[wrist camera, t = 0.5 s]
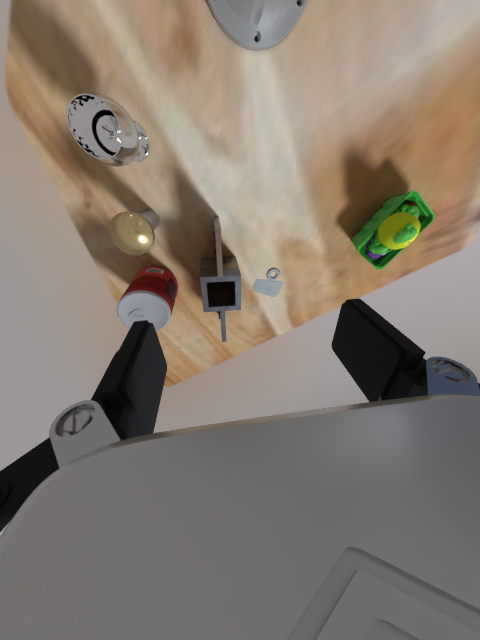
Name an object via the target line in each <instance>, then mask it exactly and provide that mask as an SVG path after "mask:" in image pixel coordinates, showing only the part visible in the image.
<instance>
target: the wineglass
mask: <svg viewBox="0 0 480 640" xmlns="http://www.w3.org/2000/svg"><path fill="white" fill-rule="evenodd" d="M67 121H68V126H69V128H70V131H71V133H72V135H73V137H74V139H75V140H76V142H77V143H78V144H79V146H80V147H81V148H82V149H83V150H84V151H86V152H87V153H88V154H89V155H91V156H92V157H93V158H95V159H97V160H98V161H100V162H102V163H104V164H107V165H110V166H116V167H120V166H125V165H128V164H129V163H131V162H132V161H142V160H144V159H145V158H146V157H147V155H148V153H149V147H150V145H149V139H148V136H147V134H146V132H145V131H144V129H143V128H142V127H141V126H140V125H139V124H138V123H136V122H134V121H133V120H132V118H131V116H130V115H129V114H128V112H127V111H126V110H125V109H124V108H123V107H122V106H121V105H120V104H119V103H117V102H116V101H114V100H113V99H111V98H109V97H107V96H105V95H102V94H97V93H83V94H79V95H77V96H75V97H74V98H73V99H72V100H71V101H70V103H69V105H68V109H67Z"/></svg>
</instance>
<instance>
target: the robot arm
mask: <svg viewBox="0 0 480 640" xmlns="http://www.w3.org/2000/svg"><path fill="white" fill-rule="evenodd" d="M207 2H208V4H209V6H210V9H211V11H212V13H213V16H214V17H215V19H216V21H217V22H218V24H219V26H220V27H221V29H222V30H223V31H224V32H225V34H226V35H227V36H228V37H229V38H230V39H231V40H232V41H234V42H235V43H236V44H238V45H239V46H241V47H244V48H246V49H248V50H256V51H260V50H265V49H269V48H271V47H273V46H275V45H277V44H278V43H280V42H281V41H282V40H283V39H284V38H286V37H287V35H288V34H289V33H290V32H291V30H292V29H293V28H294V27H295V25H296V23H297V22H298V20H299V19H300V17H301V15H302V13H303V11H304V9H305V7H306V5H307V2H308V0H216V1H214V0H207ZM297 2H299V3H300V7H299V6H298V5H297ZM255 37H256V38H257V39H258V42H255V41H254V38H255ZM332 349H333V351H334V352H335V354H336V355H337V357H338V358H339V359H340V361H341V362H342V364H343V365H344V366H345V368H346V369H347V371H348V372H349V374H350V375H351V376H352V378H353V379H354V381H355V382H356V383H357V385H358V386H359V388H360V389H361V390H362V392H363V393H364V395H365V396H366V398H367V399H368V400H369V402H368V403H360V404H353V405H345V406H338V407H330V408H323V409H316V410H309V411H302V412H294V413H287V414H280V415H273V416H266V417H259V418H252V419H245V420H238V421H231V422H224V423H217V424H210V425H203V426H196V427H190V428H183V429H177V430H171V431H166V432H159V433H153V431H154V427H155V422H156V417H157V413H158V408H159V404H160V399H161V395H162V390H163V386H164V381H165V376H166V372H167V363H166V360H165V357H164V354H163V351H162V348H161V345H160V342H159V339H158V336H157V333H156V330H155V327H154V325H153V323H149V321H148V320H143V321H135V322H133V324H132V326H131V328H130V330H129V332H128V334H127V336H126V338H125V340H124V342H123V344H122V346H121V347H120V349H119V351H118V352H116V354H115V355H114V357H113V359H112V361H111V363H110V365H109V367H108V368H107V370H106V372H105V374H104V376H103V378H102V380H101V382H100V384H99V385H98V387H97V389H96V391H95V393H94V395H93V397H92V399H91V400H87V401H81V402H78V403H76V404H74V405H72V406H70V407H68V408H67V409H65V410H64V411H63V412H62V413H61V414H59V415H58V416H57V417H56V419H55V420H54V422H53V423H52V425H51V427H50V430H49V435H50V437H49V438H48V439H46V440H45V441H44V442H42V443H41V444H39V445H38V446H36V447H35V448H33V449H32V450H30V451H29V452H28V453H26V454H25V455H23V456H22V457H20V458H19V459H17V460H16V461H15V462H13V463H12V464H10V465H9V466H7V467H6V468H4V469H3V470H1V471H0V640H480V384H479V383H478V382H477V378H476V376H475V374H474V373H473V372H472V371H471V370H470V369H469V368H467V367H466V366H464V365H463V364H461V363H459V362H456V361H454V360H451V359H449V358H444V357H431V358H429V359H427V361H426V360H425V359H424V358H423V356H424V354H425V351H423V350H422V349H421V348H419V347H418V346H417V345H416V344H415V343H413V342H412V341H411V340H410V339H409V338H407V337H406V336H405V335H404V334H402V333H401V332H400V331H399V330H397V329H396V328H395V327H394V326H393V325H391V324H390V323H389V322H388V321H387V320H385V319H384V318H383V317H382V316H380V315H379V314H378V313H377V312H376V311H374V310H373V309H372V308H371V307H369V306H368V305H367V304H366V303H365V302H363V301H362V300H361V299H350V300H346V301H345V303H343V304H342V306H341V310H340V314H339V318H338V322H337V326H336V330H335V333H334V337H333V341H332Z"/></svg>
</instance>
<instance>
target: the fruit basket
mask: <svg viewBox="0 0 480 640" xmlns="http://www.w3.org/2000/svg"><path fill="white" fill-rule="evenodd" d="M434 217H435V216H434V213H433V212H432V211H431V210H430V208H429V207H428V206H427V204H426V203H425V202H424V200H423V199H422V197H421V196H420V194H419V193H418V192H417V191H411V192H408V193H406V194H403V195H399V196H395V197H391V198H389V199H388V200H387V201H386V202H385V204H384V205H383V206H382V208H381V209H379V210H378V211H377V212H376V213H375V214H374V216H373V217H372V218H371V220H370V221H368V222H367V223H366V224H365V225H364V226H363V228H362V229H361V230H360V232H359V233H357V234H356V235H355V236H354V237H353V238H352V240H351V241H352V242H353V244H354V245H355V247H356V249H357V251H358V253H359V254H360V255H362V256H363V257H364V258H365V259H366V260H367V261H368V262H369V263H371V264H372V265H373V266H374V267H375V268H376V269H377V270H380V269H382V268H384V267H385V266H386V265H387V264H388V263H389V262H390V261H391V260H392V259H393V258H394V257H395V256H396V255H397V254H398V253H399V252H401V251H402V250H403V249H404V248H405V247H406V246H408V245H409V244H410V243H411V242H412V241H413V240H414V239H415V238H416V237H417V235H419V234H420V233H421V232H422V231H423V230H424V229H425V228H426V227H427V226H428V225H429V224H430V223H431V222H432V221H433V220H434Z"/></svg>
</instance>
